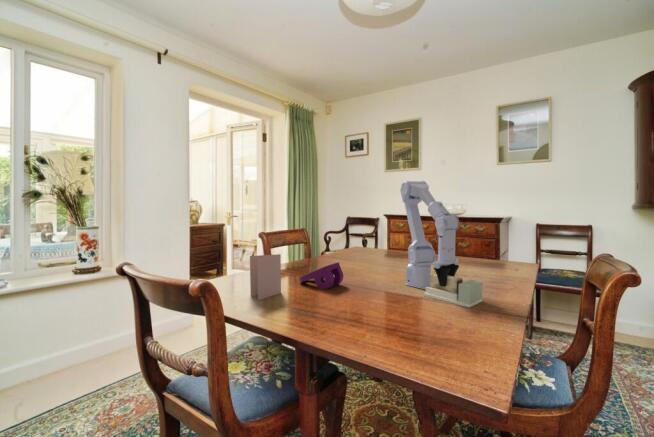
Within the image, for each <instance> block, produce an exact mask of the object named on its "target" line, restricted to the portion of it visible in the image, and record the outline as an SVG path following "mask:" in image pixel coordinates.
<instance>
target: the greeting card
mask: <svg viewBox="0 0 654 437" xmlns="http://www.w3.org/2000/svg"><path fill="white" fill-rule="evenodd" d="M281 255H282V254H281V253H278V254H277V253H276V254H261V255H260V254H259V255H250V256H249V278H250V279H249V280H250V282H249V283H250V296H251V297H252V296H253V295H254V296H257V301H261V300H263V299H267V298H269V297H273V296H275V295H279V294H281V293H282V274H281V273H282V268H281V266H282V265H281V263H282V262H281V260H282V258H281ZM254 296H253V297H254Z"/></svg>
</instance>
